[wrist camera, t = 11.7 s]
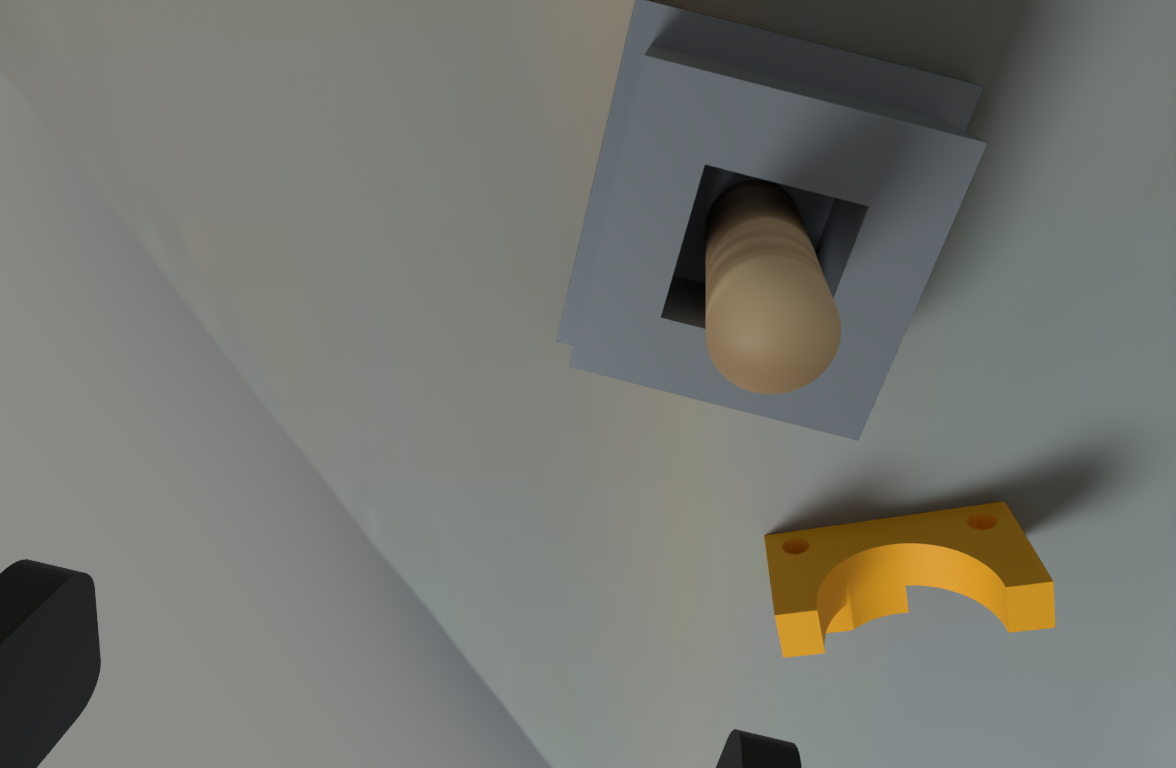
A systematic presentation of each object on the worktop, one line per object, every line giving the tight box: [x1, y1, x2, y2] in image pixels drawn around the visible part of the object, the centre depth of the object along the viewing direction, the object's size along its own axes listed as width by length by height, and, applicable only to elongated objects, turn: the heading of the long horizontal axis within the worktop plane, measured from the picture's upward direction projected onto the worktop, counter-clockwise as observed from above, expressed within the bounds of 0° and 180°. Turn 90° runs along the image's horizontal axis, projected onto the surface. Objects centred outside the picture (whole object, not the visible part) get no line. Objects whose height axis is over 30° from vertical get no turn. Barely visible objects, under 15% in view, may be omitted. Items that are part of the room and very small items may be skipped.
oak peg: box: [706, 180, 841, 394], centre depth 31 cm, size 4×4×12 cm
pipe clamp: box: [764, 501, 1055, 658], centre depth 41 cm, size 12×4×6 cm, turn 104°
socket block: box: [557, 0, 987, 440], centre depth 34 cm, size 15×14×7 cm
